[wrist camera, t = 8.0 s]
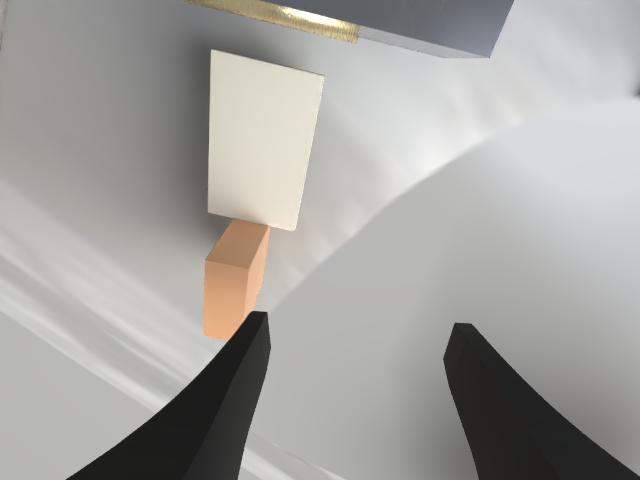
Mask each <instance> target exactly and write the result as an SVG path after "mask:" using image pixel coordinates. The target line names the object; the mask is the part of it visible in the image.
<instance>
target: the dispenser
mask: <svg viewBox="0 0 640 480" xmlns="http://www.w3.org/2000/svg"><path fill="white" fill-rule="evenodd" d="M181 1H185V2H189V3H193V4H197V5H201V6H205V7H209V8H214V9H218V10H222V11H226V12H230V13H234V14H238V15H242V16H246V17H250V18H254V19H258V20H262V21H266V22H270V23H274V24H278V25H282V26H286V27H290V28H294V29H299V30H303V31H307V32H311V33H315V34H319V35H323V36H327V37H331V38H335V39H339V40H343V41H347V42H351V43H355V44H356V42H357V38H358V37H362V38H366V39H370V40H374V41H378V42H382V43H386V44H390V45H394V46H398V47H402V48H406V49H410V50H414V51H419V52H423V53H427V54H431V55H435V56H439V57H443V58H490V55H491V53H492V51H493V48H494V46H495V44H496V41H497V39H498V37H499V34H500V32H501V30H502V27H503V25H504V23H505V20H506V18H507V16H508V13H509V11H510V8H511V6H512V4H513V1H514V0H181Z"/></svg>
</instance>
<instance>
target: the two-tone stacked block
mask: <svg viewBox="0 0 640 480" xmlns="http://www.w3.org/2000/svg"><path fill="white" fill-rule="evenodd" d="M324 78H325V75H321V74H316V73H312V72H308V71H304V70H300V69H296V68H292V67H287V66H283V65H279V64H275V63H271V62H267V61H263V60H258V59H254V58H250V57H246V56H242V55H238V54H233V53H229V52H225V51H221V50H215V49H211V72H210V120H209V167H208V213H212V214H217V215H221V216H226V217H230V218H234V219H233V220H232V222H231V223H230V225H229V226H228V227H227V229H226V230H225V232H224V233H223V235H222V236H221V238H220V239H219V240H218V242H217V243H216V245H215V246H214V248H213V249H212V251H211V252H210V253H209V255H208V256H207V258H206V259H205V288H204V336H209V337H214V338H219V339H224V340H229V339H230V338H231V337H232V336H233V334H234V333H235V332H236V331H237V329H238V328H239V327H240V325H241V324H242V323H243V321H244V320H245V319H246V317H247V316H248V314H249V313H250V312H251V311H253V308H254V305H255V303H256V300H257V297H258V294H259V292H260V289H261V286H262V283H263V276H264V269H265V262H266V255H267V248H268V241H269V234H270V227H271V226H272V227H277V228H281V229H286V230H291V231H295V228H296V224H297V219H298V214H299V208H300V203H301V198H302V193H303V188H304V182H305V177H306V172H307V167H308V162H309V156H310V151H311V146H312V141H313V136H314V130H315V125H316V120H317V115H318V109H319V104H320V99H321V94H322V89H323V83H324Z"/></svg>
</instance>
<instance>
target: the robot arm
mask: <svg viewBox="0 0 640 480" xmlns="http://www.w3.org/2000/svg"><path fill="white" fill-rule="evenodd" d="M270 350H271V344H270V334H269V325H268V315H267V312H260V311H251V312H250V313H249V314H248V316H247V317H246V319H245V320H244V321H243V323H242V324H241V325H240V327H239V328H238V329H237V331H236V332H235V333H234V334H233V336H232V337H231V338H230V339H229V341H228V342H227V343H226V344H225V345H224V347H223V348H222V349H221V350H220V351H219V353H218V354H217V355H216V356H215V357H214V358H213V359H212V360H211V362H210V363H209V364H208V365H207V366H206V367H205V368H204V369H203V370H202V371H201V372H200V373H199V375H198V376H197V377H196V378H195V379H194V380H193V381H192V382H191V383H190V384H189V385H188V386H187V387H185V388H184V389H183V390H182V391H181V392H180V393H179V394H178V395H177V396H176V397H175V398H174V399H173V400H171V401H170V402H169V403H168V404H167V405H166V406H165V407H163V408H162V409H161V410H160V411H159V412H158V413H157V414H155V415H154V416H153V417H152V418H151V419H149V420H148V421H147V422H146V423H144V424H143V425H142V426H141V427H139V428H138V429H137V430H135V431H134V432H133V433H131V434H130V435H129V436H127V437H126V438H125V439H123V440H122V441H121V442H120V443H118V444H117V445H116V446H115V447H113V448H111V449H110V450H109V451H107V452H106V453H104V454H103V455H102V456H100V457H98V458H97V459H96V460H94V461H93V462H91V463H90V464H88V465H87V466H85V467H84V468H82V469H81V470H80V471H78V472H77V473H75V474H74V475H72V476H70V477H69V478H67V479H66V480H238V475H239V470H240V465H241V461H242V456H243V451H244V447H245V442H246V439H247V435H248V431H249V428H250V425H251V421H252V418H253V415H254V412H255V408H256V405H257V402H258V398H259V395H260V392H261V389H262V385H263V382H264V379H265V375H266V371H267V366H268V361H269V355H270ZM443 360H444V365H445V370H446V375H447V379H448V384H449V387H450V391H451V394H452V396H453V399H454V402H455V405H456V408H457V411H458V414H459V417H460V420H461V423H462V425H463V428H464V431H465V434H466V437H467V440H468V443H469V446H470V449H471V452H472V455H473V458H474V462H475V465H476V469H477V473H478V477H479V480H640V476H638V475H637V474H636V473H634V472H633V471H631V470H630V469H629V468H627V467H626V466H625V465H623V464H622V463H621V462H619V461H618V460H617V459H615V458H614V457H612V456H611V455H610V454H609V453H608V452H606V451H605V450H604V449H602V448H601V447H600V446H598V445H597V444H596V443H595V442H593V441H592V440H591V439H589V438H588V437H587V436H586V435H585V434H583V433H582V432H581V431H580V430H579V429H577V428H576V427H575V426H574V425H572V423H570V422H569V421H568V420H567V419H566V418H564V417H563V416H562V415H561V414H560V413H559V412H557V411H556V410H555V409H554V408H553V407H552V406H551V405H550V404H548V402H546V401H545V400H544V399H543V398H542V397H541V396H540V395H539V394H538V393H537V392H536V391H535V390H534V389H533V388H532V387H531V386H530V385H529V384H528V383H527V382H526V381H524V379H522V377H521V376H520V375H519V374H517V372H516V371H515V370H514V369H513V368H512V367H511V366H510V365H509V364H508V363H507V362H506V361H505V360H504V359H503V358H502V357H501V356H500V354H498V353H497V351H496V350H495V349H494V348H493V347H492V346H491V345H490V344H489V343H488V342H487V340H486V339H485V338H484V337H483V336H482V335H481V334H480V333H479V332H478V330H477V329H476V328H475V327H474V326H473V325H472V324H469V323H455V324H454V327H453V330H452V333H451V336H450V339H449V342H448V346H447V349H446V352H445V355H444V358H443Z"/></svg>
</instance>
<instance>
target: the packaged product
mask: <svg viewBox="0 0 640 480" xmlns="http://www.w3.org/2000/svg"><path fill="white" fill-rule="evenodd" d="M6 6H7V0H0V50H1V42H2V35H3V28H4V20H5V13H6Z"/></svg>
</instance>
